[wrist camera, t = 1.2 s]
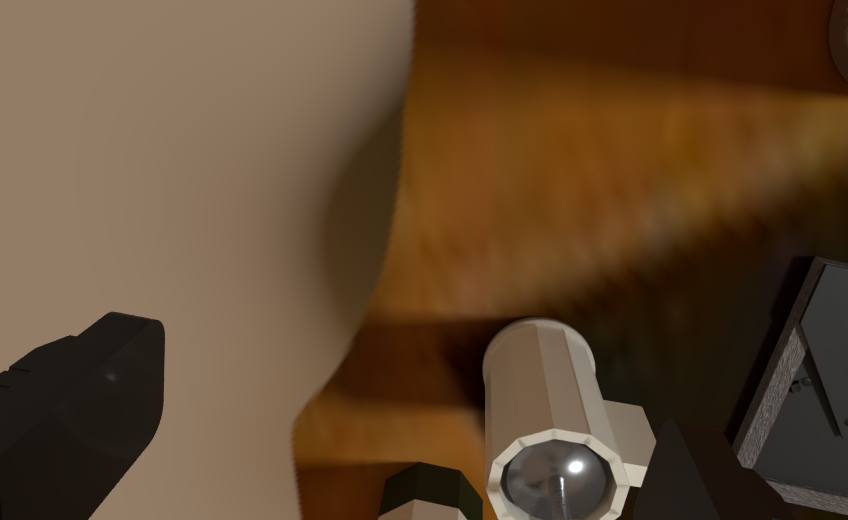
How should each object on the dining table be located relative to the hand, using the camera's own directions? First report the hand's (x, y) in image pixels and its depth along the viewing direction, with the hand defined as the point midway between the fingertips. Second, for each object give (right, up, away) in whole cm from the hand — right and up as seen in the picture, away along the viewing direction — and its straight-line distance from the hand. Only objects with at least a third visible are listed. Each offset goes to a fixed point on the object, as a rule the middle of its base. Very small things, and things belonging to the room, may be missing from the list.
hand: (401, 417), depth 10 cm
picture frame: (+31, -7, +36) cm, 47 cm away
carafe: (+10, -5, +36) cm, 38 cm away
